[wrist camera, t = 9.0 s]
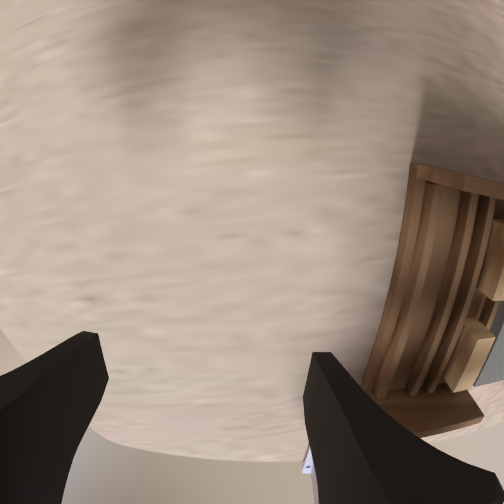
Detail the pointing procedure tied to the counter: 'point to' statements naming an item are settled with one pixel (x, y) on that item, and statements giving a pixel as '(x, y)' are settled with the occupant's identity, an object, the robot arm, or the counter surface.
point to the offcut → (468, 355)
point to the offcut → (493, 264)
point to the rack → (433, 299)
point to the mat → (494, 352)
